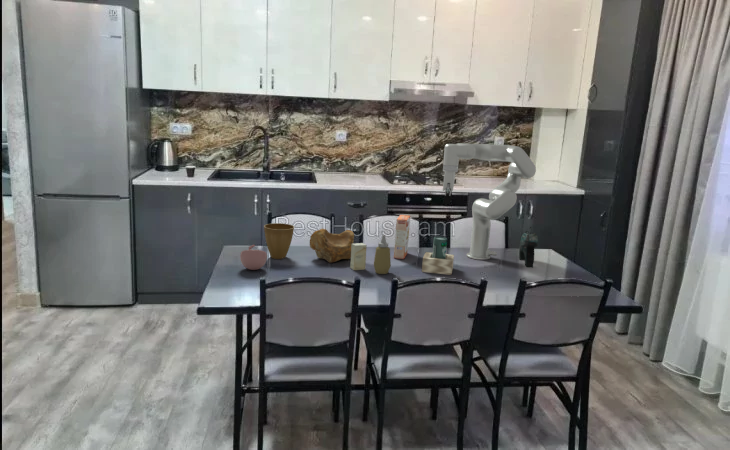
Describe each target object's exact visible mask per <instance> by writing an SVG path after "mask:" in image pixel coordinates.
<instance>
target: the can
mask: <svg viewBox="0 0 730 450" xmlns="http://www.w3.org/2000/svg"><path fill="white" fill-rule="evenodd" d="M432 244H433V245H432V253H433V254H432V258H438V259H446V254H447V245H448V238H447V237H445V236H434V237H433V242H432Z"/></svg>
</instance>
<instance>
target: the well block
mask: <svg viewBox="0 0 730 450" xmlns="http://www.w3.org/2000/svg"><path fill="white" fill-rule="evenodd" d="M432 254H433V252H427V251H425V253H424V254H423V257H422V264H421V272H422V273H429V274H430V273H431V274H439V275H440V274H441V275H447V276H452V273H453V269H454V259H455V258H454V257H455V254H448V253H446V259H438V258H432Z"/></svg>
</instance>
